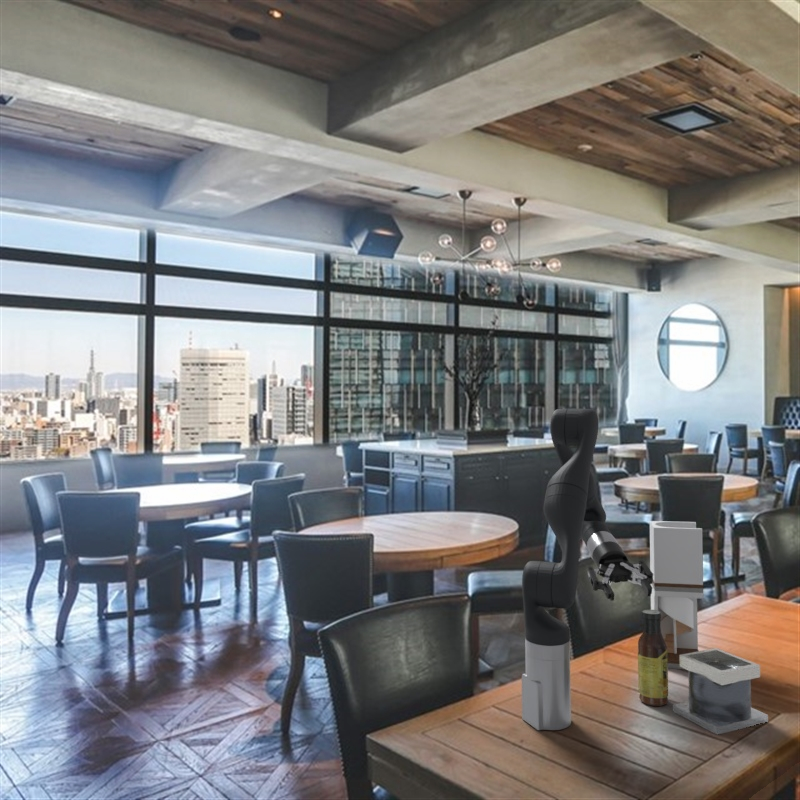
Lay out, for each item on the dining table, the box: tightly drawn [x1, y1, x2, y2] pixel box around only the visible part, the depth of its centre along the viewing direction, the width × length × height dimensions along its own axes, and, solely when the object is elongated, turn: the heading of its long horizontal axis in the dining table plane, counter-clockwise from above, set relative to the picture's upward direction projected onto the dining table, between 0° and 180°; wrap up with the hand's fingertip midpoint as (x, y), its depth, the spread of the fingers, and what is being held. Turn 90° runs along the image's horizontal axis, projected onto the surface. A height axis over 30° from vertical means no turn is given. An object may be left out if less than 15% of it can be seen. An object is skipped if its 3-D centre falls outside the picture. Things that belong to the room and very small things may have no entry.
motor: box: [672, 647, 769, 736], centre depth 153 cm, size 14×12×12 cm
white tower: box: [649, 520, 704, 670], centre depth 186 cm, size 11×11×35 cm
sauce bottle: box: [637, 609, 669, 707], centre depth 161 cm, size 7×6×20 cm
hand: (631, 595), depth 165 cm, fingers open, 8 cm apart
